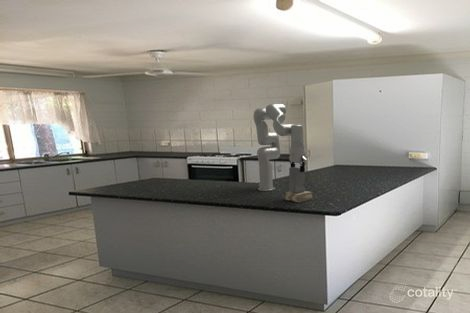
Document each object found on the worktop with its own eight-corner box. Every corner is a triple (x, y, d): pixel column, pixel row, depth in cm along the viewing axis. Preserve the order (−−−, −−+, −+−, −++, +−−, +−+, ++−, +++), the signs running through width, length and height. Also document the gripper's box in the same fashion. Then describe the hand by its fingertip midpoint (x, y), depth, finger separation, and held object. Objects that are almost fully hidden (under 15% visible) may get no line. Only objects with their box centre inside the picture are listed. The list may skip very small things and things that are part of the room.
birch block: (285, 200, 241) (285, 192, 241) (298, 197, 248) (298, 189, 247) (298, 203, 231) (298, 195, 231) (312, 199, 238) (312, 192, 238)
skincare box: (295, 193, 236) (295, 168, 233) (288, 191, 242) (288, 167, 240) (305, 191, 240) (305, 167, 237) (298, 189, 246) (298, 165, 244)
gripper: (284, 143, 242) (284, 170, 244) (300, 145, 227) (301, 173, 229) (293, 143, 245) (294, 168, 247) (310, 144, 230) (311, 172, 232)
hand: (297, 171), depth 238 cm, fingers open, 9 cm apart
